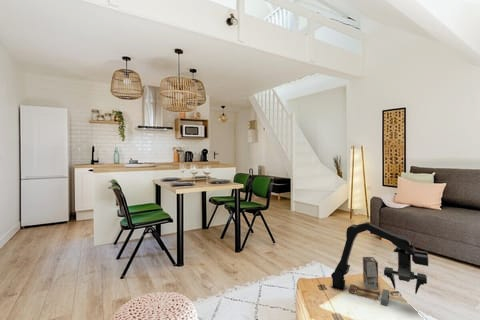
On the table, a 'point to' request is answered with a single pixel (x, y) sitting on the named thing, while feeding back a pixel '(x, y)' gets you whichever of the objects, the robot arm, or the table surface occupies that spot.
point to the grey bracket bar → (384, 297)
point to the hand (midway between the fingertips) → (405, 291)
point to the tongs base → (363, 290)
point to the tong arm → (365, 294)
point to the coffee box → (370, 272)
